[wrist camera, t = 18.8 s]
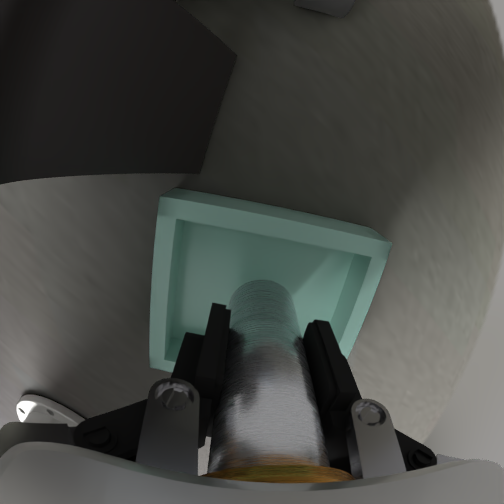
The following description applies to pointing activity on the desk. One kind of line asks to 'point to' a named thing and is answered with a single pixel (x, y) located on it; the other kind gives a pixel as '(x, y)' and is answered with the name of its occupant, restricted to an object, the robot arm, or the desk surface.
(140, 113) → the phone stand
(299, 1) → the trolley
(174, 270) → the tray
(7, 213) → the desk surface
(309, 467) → the pin
